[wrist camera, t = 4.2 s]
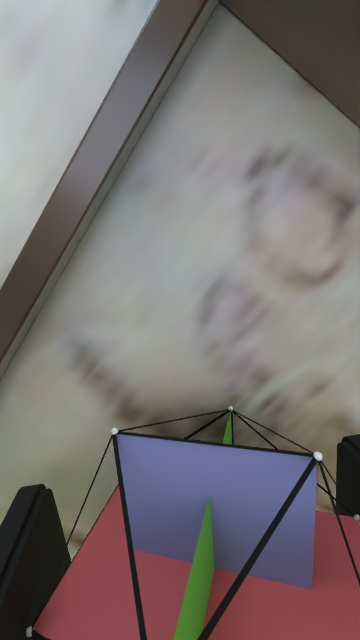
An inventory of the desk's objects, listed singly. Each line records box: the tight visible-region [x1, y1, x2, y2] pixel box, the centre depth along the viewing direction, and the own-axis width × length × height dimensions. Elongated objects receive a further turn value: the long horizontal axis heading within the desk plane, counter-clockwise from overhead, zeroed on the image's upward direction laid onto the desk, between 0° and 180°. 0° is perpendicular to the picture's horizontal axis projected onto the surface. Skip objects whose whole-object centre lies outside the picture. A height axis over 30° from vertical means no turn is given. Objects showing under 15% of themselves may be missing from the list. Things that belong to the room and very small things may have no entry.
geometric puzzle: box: [26, 406, 360, 640], centre depth 7 cm, size 7×7×8 cm
